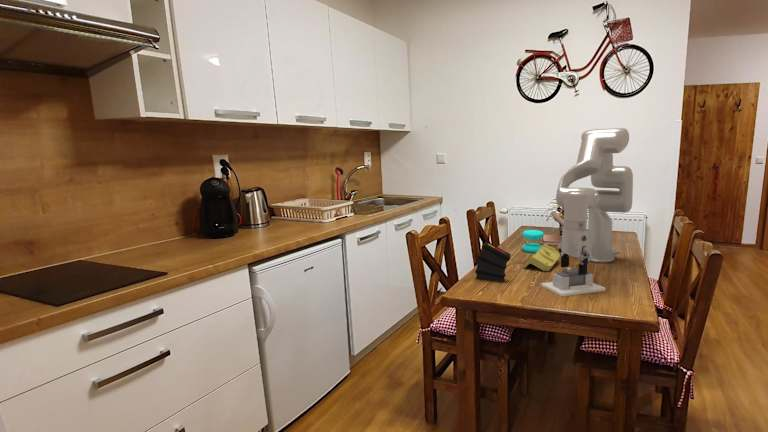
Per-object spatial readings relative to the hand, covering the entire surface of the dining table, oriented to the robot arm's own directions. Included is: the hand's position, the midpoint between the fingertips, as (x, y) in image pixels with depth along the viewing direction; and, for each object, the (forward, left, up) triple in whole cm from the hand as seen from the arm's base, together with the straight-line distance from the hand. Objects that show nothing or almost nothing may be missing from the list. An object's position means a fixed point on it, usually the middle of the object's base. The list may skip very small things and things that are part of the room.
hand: (573, 270), depth 152 cm
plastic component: (-7, -29, -7) cm, 31 cm away
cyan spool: (-18, -53, -7) cm, 56 cm away
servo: (0, 0, -6) cm, 6 cm away
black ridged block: (+22, -19, -7) cm, 30 cm away
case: (-43, -65, -7) cm, 78 cm away
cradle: (0, 0, -7) cm, 7 cm away
